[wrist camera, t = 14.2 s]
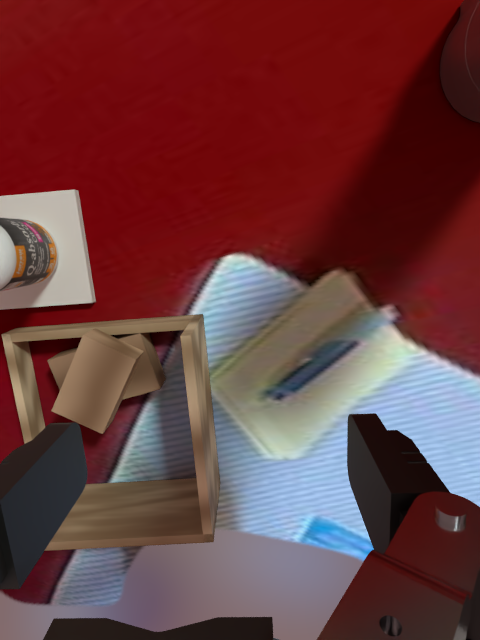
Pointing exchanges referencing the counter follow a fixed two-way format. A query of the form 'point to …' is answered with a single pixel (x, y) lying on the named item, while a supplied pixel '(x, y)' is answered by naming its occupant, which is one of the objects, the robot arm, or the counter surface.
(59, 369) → the offcut block lower
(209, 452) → the wooden box frame
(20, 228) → the pill bottle
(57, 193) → the tile
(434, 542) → the robot arm
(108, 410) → the offcut block upper
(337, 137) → the counter surface
